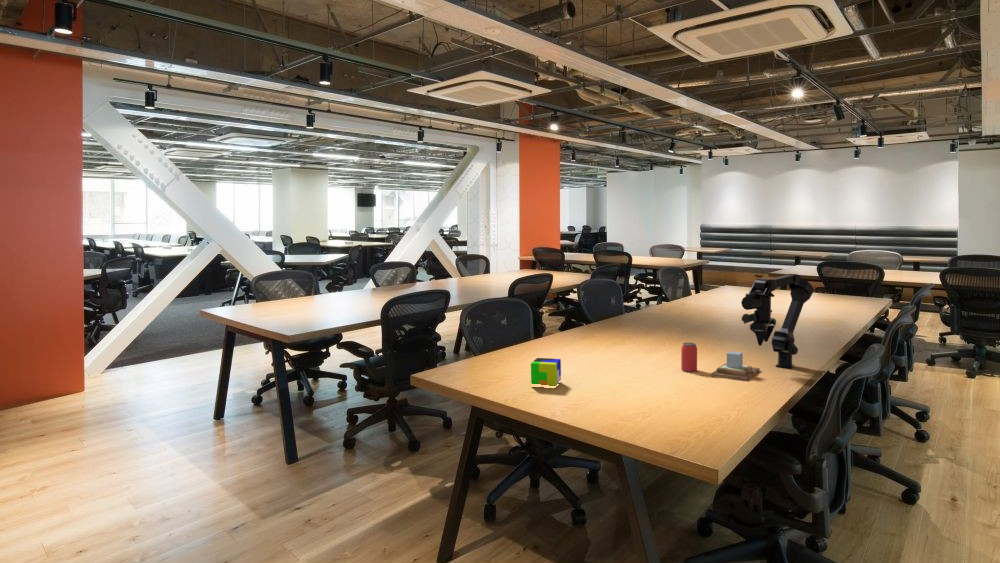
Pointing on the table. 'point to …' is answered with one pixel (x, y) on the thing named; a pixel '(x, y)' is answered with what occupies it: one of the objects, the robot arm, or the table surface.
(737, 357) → the block
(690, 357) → the beer can
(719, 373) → the base
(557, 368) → the puzzle toy
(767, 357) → the table surface
